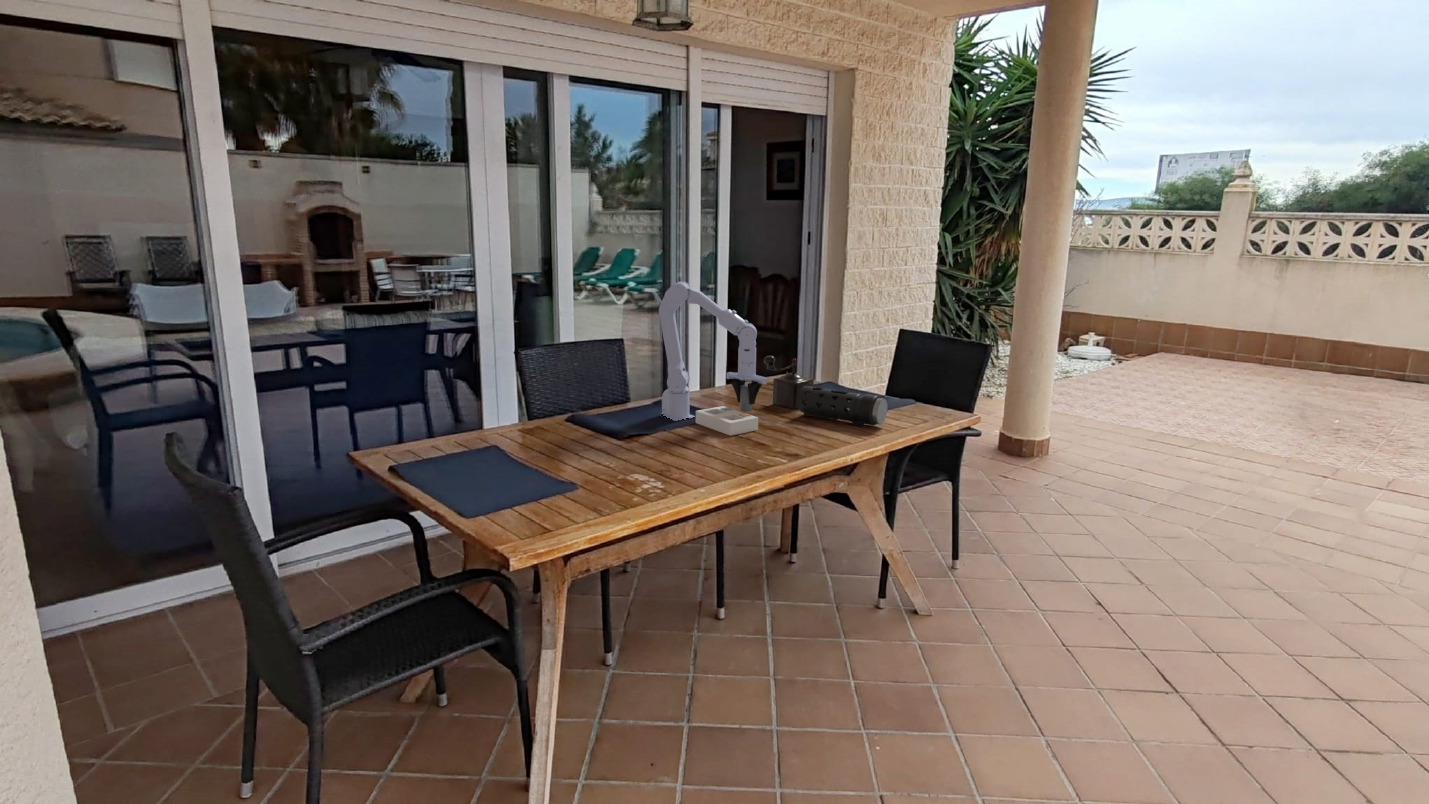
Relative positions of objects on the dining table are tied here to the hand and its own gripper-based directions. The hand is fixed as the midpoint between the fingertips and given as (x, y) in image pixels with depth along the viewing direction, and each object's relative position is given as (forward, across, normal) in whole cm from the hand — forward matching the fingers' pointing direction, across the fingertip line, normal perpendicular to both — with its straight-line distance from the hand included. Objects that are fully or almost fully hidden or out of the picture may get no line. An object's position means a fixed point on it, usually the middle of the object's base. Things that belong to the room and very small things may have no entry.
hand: (746, 402), depth 248 cm
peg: (+2, 0, 0) cm, 2 cm away
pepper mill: (+6, +2, +24) cm, 25 cm away
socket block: (+6, 0, -11) cm, 12 cm away
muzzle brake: (+6, +26, +16) cm, 32 cm away
